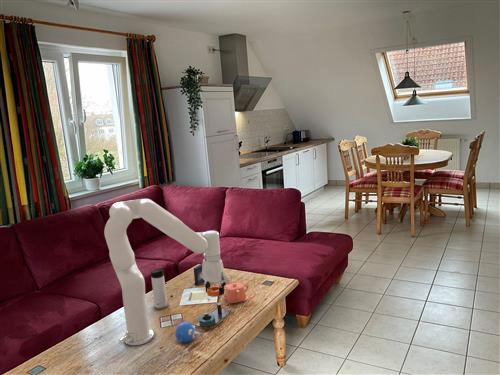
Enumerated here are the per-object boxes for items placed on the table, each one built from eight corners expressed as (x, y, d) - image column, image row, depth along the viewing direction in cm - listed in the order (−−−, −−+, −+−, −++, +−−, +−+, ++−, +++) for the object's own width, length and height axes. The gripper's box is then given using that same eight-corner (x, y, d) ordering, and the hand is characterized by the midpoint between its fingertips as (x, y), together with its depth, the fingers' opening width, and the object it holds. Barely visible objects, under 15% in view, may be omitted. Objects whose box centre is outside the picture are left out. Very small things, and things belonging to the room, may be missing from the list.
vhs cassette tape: (198, 285, 238) (196, 268, 237) (194, 284, 240) (192, 267, 238) (217, 273, 253) (216, 258, 252) (213, 273, 255) (212, 257, 253)
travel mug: (159, 311, 210) (154, 273, 207) (152, 307, 215) (148, 270, 212) (170, 306, 215) (165, 269, 211) (163, 302, 219) (159, 266, 216)
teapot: (231, 294, 223) (229, 277, 222) (251, 298, 217) (249, 280, 216) (219, 304, 213) (217, 286, 212) (239, 308, 208) (238, 289, 206)
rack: (209, 330, 188) (208, 319, 187) (195, 326, 192) (194, 315, 191) (231, 312, 203) (230, 302, 202) (218, 309, 207) (217, 299, 206)
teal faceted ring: (208, 327, 189) (208, 322, 188) (196, 324, 192) (195, 319, 192) (218, 320, 195) (217, 315, 194) (205, 317, 198) (205, 312, 198)
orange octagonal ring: (216, 297, 195) (216, 292, 194) (204, 295, 198) (204, 290, 198) (225, 291, 201) (225, 287, 200) (213, 289, 204) (213, 284, 204)
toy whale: (196, 351, 173) (194, 332, 171) (170, 347, 177) (168, 329, 175) (208, 336, 184) (207, 318, 182) (184, 332, 188) (182, 315, 186)
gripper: (192, 257, 198) (195, 293, 201) (223, 262, 189) (225, 299, 192) (202, 252, 204) (205, 287, 207) (232, 257, 195) (234, 293, 198)
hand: (215, 292), depth 200 cm, fingers closed on orange octagonal ring, 7 cm apart
